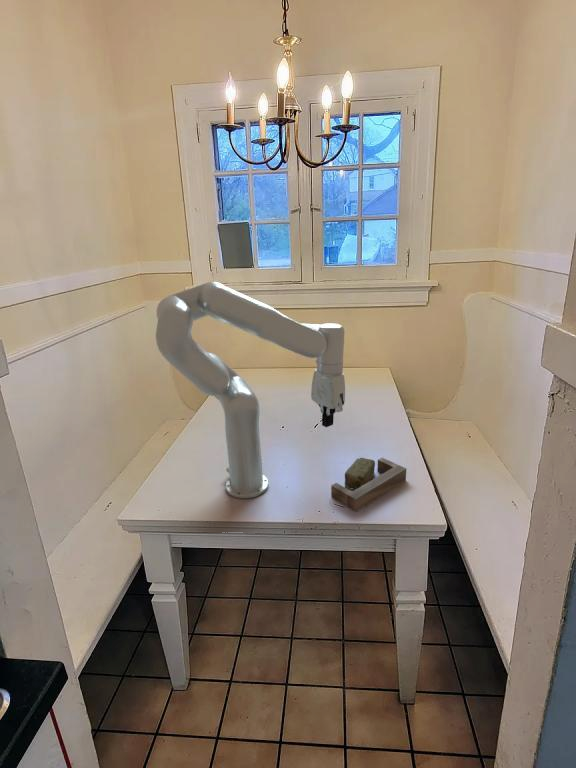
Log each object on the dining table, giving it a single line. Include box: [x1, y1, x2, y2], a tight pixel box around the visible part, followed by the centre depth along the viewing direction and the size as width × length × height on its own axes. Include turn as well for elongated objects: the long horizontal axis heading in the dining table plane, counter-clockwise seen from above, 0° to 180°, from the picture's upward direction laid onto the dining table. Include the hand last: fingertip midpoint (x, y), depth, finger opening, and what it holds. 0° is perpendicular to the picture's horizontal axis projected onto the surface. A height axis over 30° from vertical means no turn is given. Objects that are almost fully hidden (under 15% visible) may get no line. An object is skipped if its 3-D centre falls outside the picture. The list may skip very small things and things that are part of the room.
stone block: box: [344, 457, 376, 490], centre depth 134 cm, size 6×12×5 cm, turn 150°
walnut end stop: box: [330, 457, 407, 513], centre depth 130 cm, size 9×22×4 cm, turn 130°
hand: (327, 425), depth 136 cm, fingers closed
